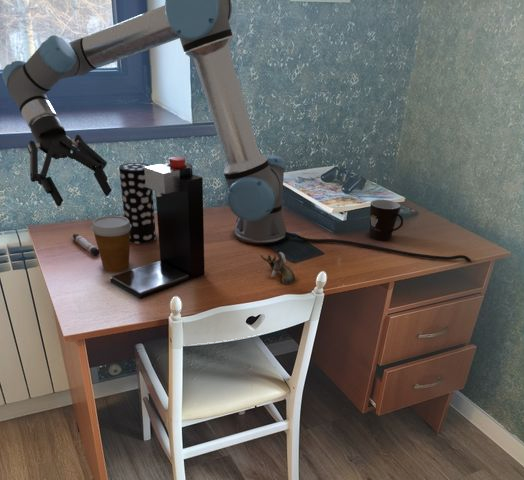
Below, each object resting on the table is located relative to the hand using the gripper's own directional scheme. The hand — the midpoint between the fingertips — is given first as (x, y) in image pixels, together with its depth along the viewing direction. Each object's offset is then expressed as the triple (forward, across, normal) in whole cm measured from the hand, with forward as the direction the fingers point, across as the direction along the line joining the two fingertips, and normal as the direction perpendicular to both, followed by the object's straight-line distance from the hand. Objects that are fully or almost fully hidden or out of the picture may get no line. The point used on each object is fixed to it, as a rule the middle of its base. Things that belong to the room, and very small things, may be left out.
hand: (85, 198), depth 133 cm
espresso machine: (+27, -1, +6) cm, 28 cm away
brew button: (+9, -11, +24) cm, 28 cm away
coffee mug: (+43, -70, +22) cm, 85 cm away
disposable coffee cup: (+18, 0, -3) cm, 19 cm away
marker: (+7, -2, -15) cm, 17 cm away
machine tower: (+27, -11, +6) cm, 30 cm away
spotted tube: (+10, -17, -12) cm, 23 cm away
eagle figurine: (+41, -26, +20) cm, 52 cm away
